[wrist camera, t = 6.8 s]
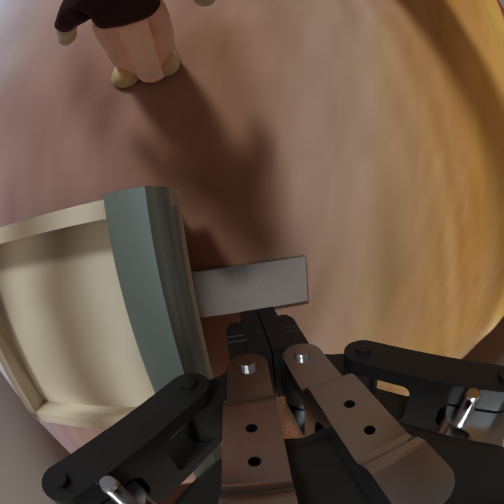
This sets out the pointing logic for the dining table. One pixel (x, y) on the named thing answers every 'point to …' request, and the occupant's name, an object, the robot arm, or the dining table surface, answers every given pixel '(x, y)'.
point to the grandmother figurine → (126, 35)
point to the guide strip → (250, 286)
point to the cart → (100, 308)
